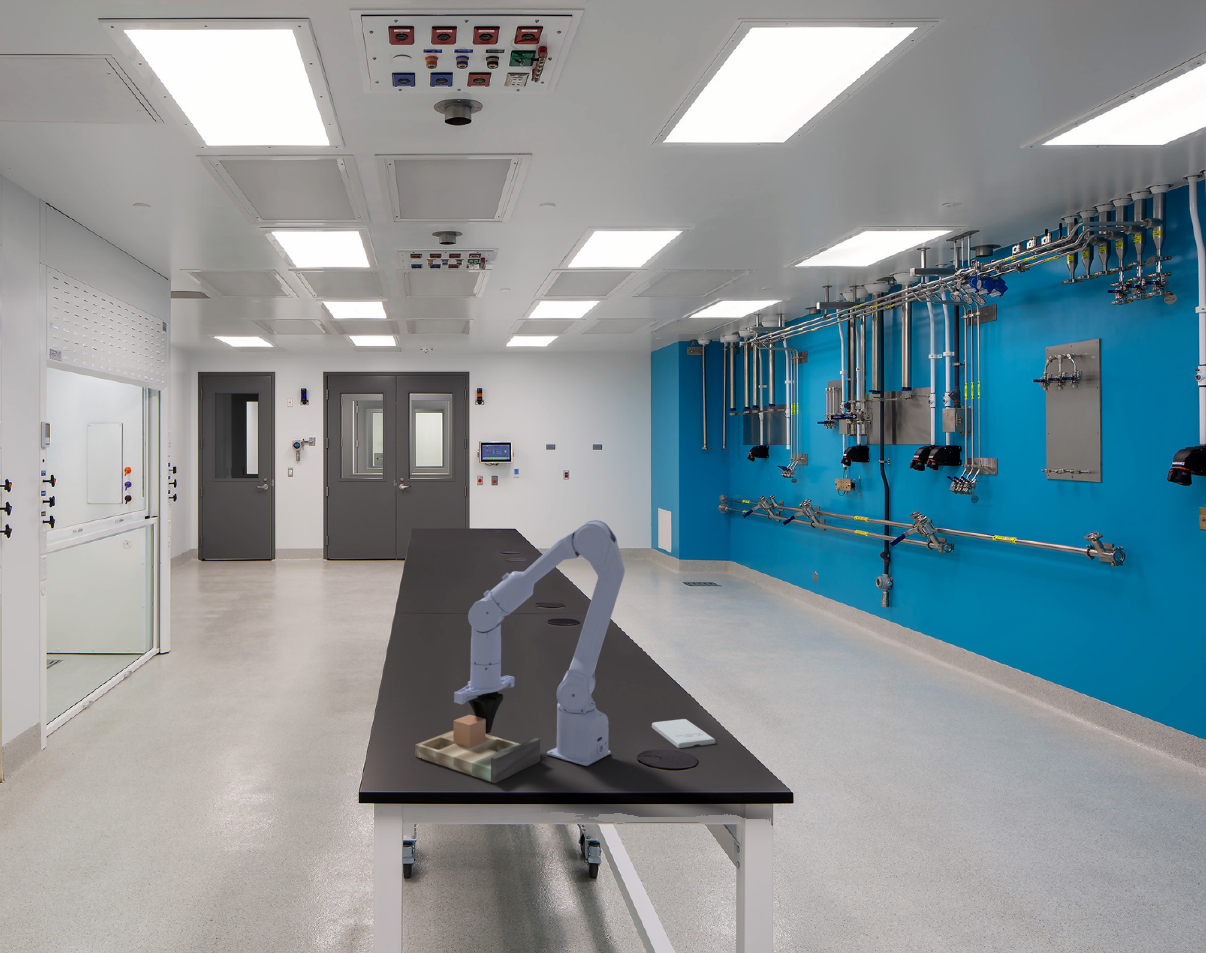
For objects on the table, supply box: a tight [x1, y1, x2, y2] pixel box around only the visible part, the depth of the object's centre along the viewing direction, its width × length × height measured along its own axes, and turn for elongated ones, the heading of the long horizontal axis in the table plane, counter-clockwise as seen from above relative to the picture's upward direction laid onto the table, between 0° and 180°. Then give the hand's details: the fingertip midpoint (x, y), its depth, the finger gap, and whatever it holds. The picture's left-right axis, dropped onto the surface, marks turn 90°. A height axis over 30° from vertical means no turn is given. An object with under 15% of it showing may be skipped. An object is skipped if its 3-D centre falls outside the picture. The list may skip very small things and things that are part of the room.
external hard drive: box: [651, 718, 716, 749], centre depth 157 cm, size 2×8×12 cm
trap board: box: [414, 729, 541, 784], centre depth 143 cm, size 20×12×4 cm, turn 55°
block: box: [452, 714, 486, 748], centre depth 145 cm, size 4×4×4 cm
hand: (484, 732), depth 148 cm, fingers closed
